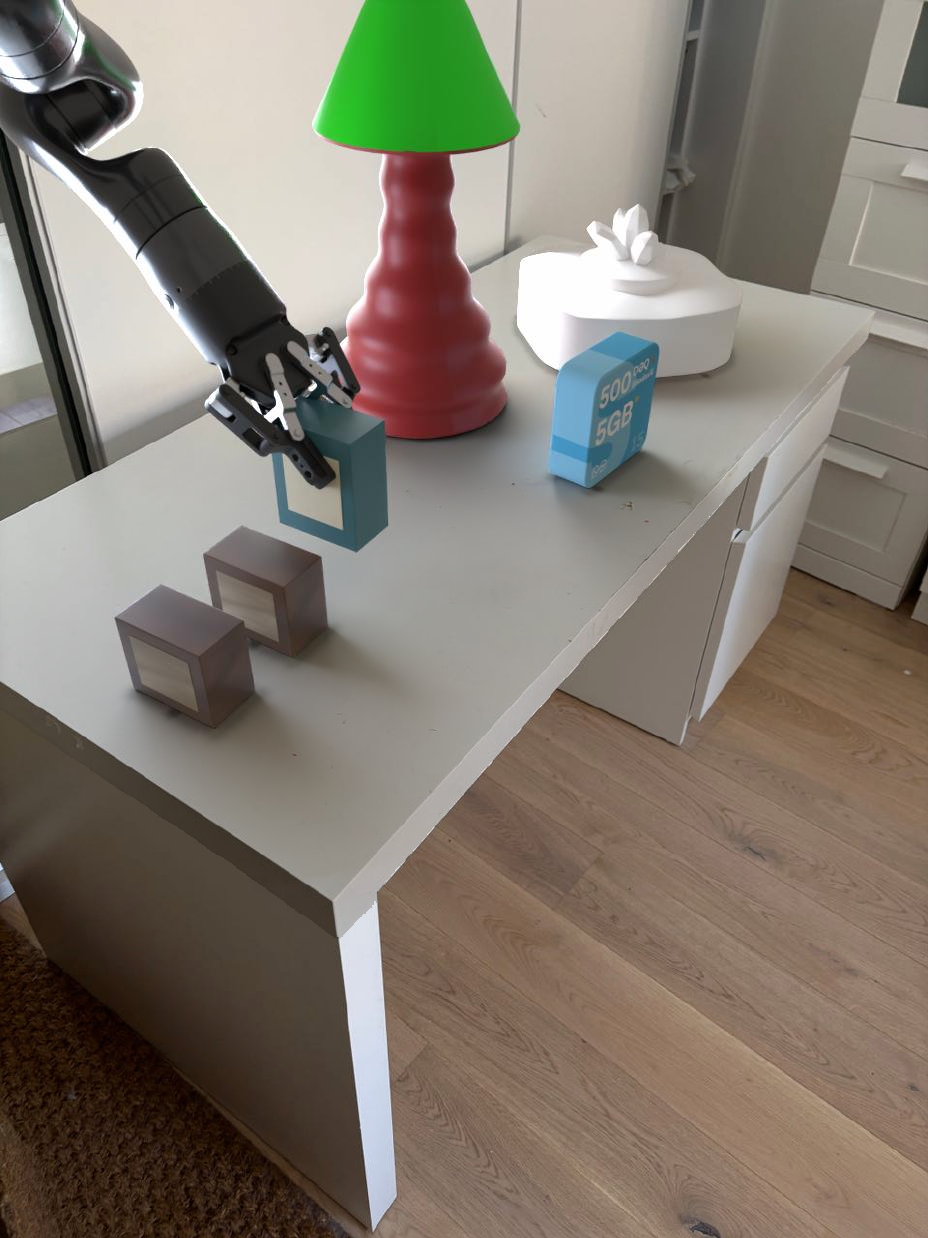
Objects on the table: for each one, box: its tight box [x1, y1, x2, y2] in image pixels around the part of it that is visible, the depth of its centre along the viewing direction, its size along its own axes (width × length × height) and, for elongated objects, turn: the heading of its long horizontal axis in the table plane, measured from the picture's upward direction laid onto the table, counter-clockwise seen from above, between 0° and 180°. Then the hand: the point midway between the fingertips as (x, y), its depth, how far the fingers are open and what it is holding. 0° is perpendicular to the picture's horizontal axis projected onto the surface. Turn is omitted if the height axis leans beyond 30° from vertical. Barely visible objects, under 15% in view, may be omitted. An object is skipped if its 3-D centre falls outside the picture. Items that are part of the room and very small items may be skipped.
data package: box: [548, 332, 659, 489], centre depth 96 cm, size 12×4×12 cm, turn 142°
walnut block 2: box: [202, 524, 329, 658], centre depth 76 cm, size 5×8×7 cm, turn 59°
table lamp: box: [311, 0, 521, 440], centre depth 95 cm, size 20×20×45 cm
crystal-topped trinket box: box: [516, 203, 744, 379], centre depth 119 cm, size 25×25×16 cm
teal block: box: [271, 397, 389, 553], centre depth 78 cm, size 5×8×10 cm, turn 59°
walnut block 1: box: [113, 583, 256, 729], centre depth 70 cm, size 5×8×7 cm, turn 59°
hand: (348, 467), depth 77 cm, fingers closed on teal block, 4 cm apart
